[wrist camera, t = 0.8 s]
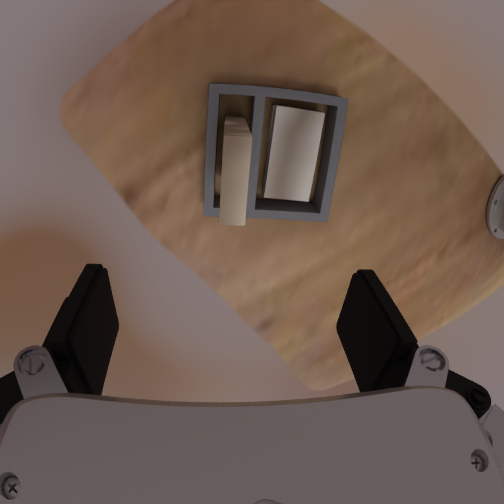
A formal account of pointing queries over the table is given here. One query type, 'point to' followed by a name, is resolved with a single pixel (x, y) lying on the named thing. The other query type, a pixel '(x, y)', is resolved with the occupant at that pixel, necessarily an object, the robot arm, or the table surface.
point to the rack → (256, 206)
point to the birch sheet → (235, 171)
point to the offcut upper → (292, 153)
